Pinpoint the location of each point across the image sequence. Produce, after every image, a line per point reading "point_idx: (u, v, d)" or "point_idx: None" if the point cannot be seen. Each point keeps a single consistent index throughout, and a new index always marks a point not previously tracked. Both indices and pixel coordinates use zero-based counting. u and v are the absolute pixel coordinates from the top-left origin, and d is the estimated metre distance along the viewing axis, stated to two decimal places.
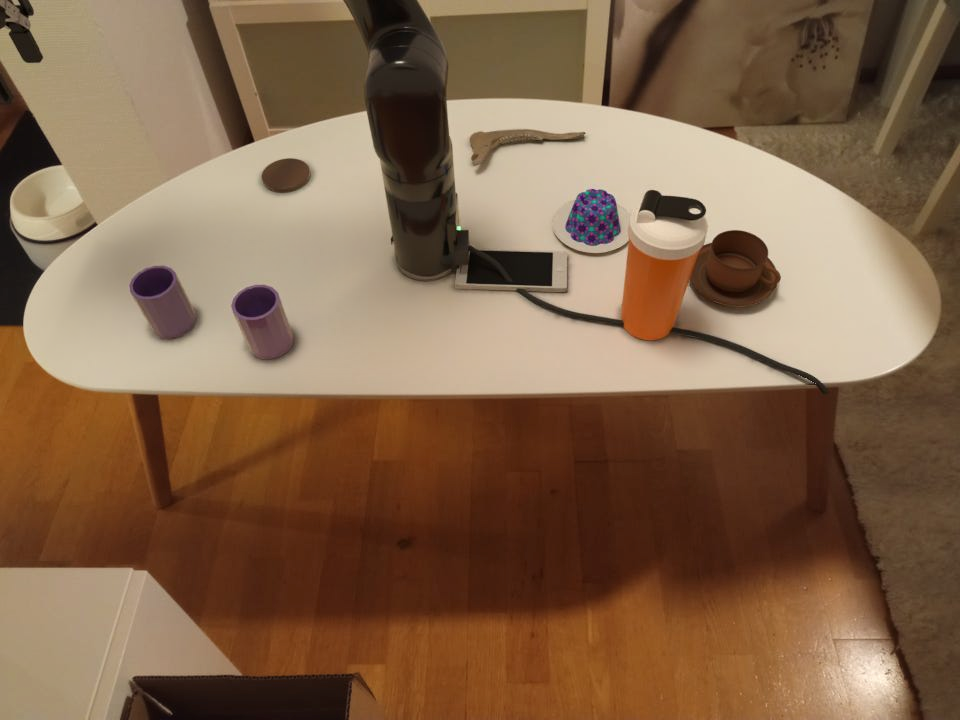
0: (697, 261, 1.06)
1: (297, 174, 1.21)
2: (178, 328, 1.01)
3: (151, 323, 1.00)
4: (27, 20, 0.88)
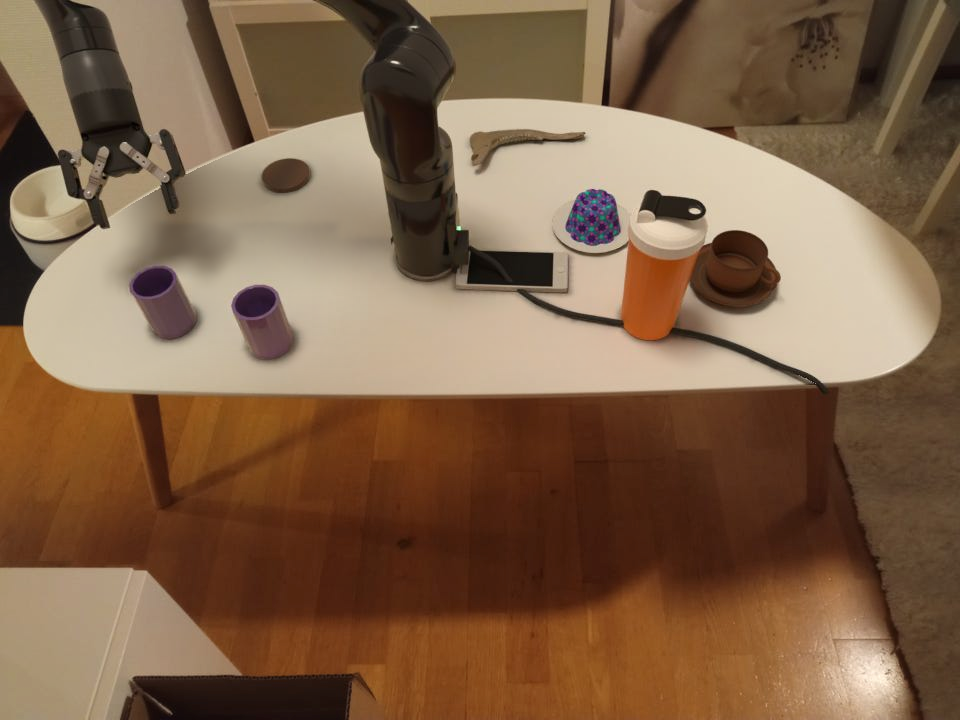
0: (697, 261, 1.06)
1: (297, 174, 1.21)
2: (178, 328, 1.01)
3: (151, 323, 1.00)
4: (165, 175, 0.98)
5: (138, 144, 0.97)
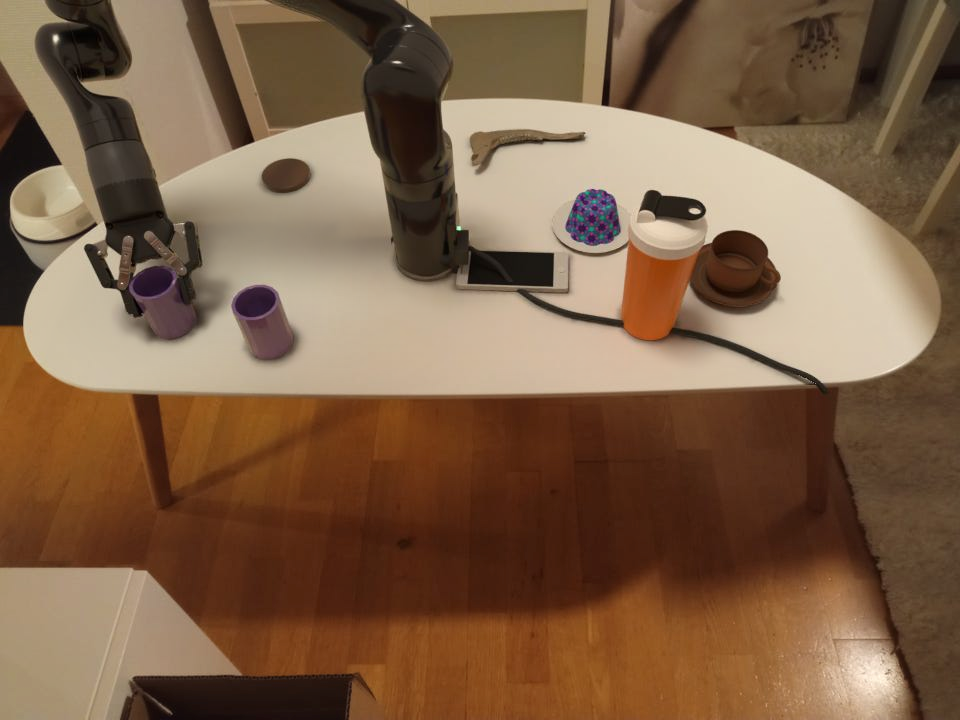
0: (697, 261, 1.06)
1: (297, 174, 1.21)
2: (178, 328, 1.01)
3: (151, 323, 1.00)
4: (183, 269, 0.98)
5: (161, 231, 0.97)
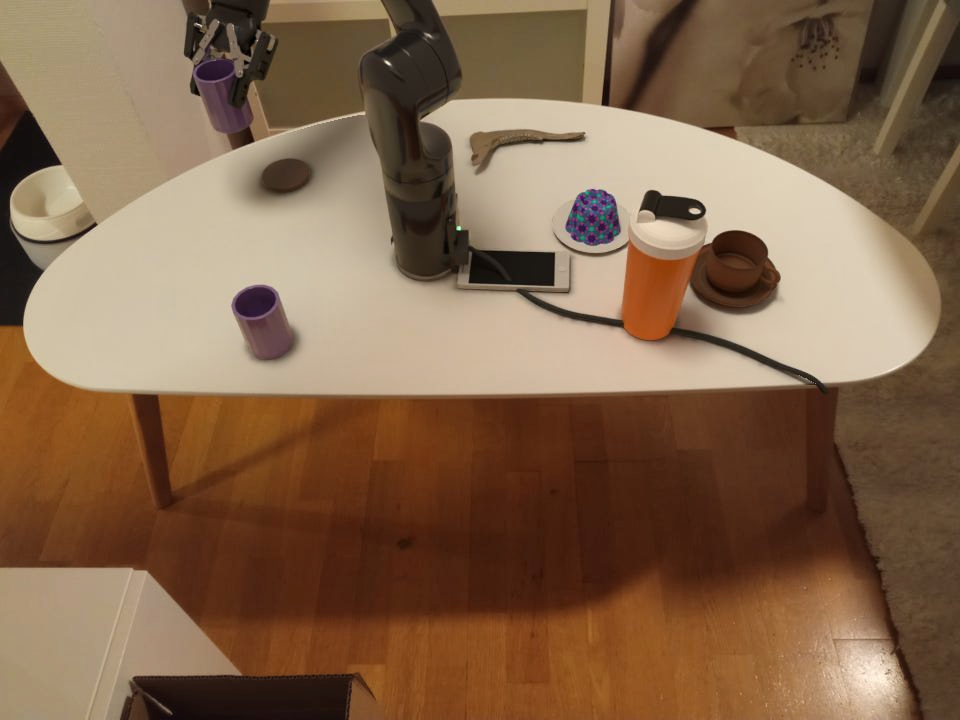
0: (697, 261, 1.06)
1: (297, 174, 1.21)
2: (221, 123, 1.06)
3: None
4: (240, 72, 1.01)
5: (243, 30, 1.01)
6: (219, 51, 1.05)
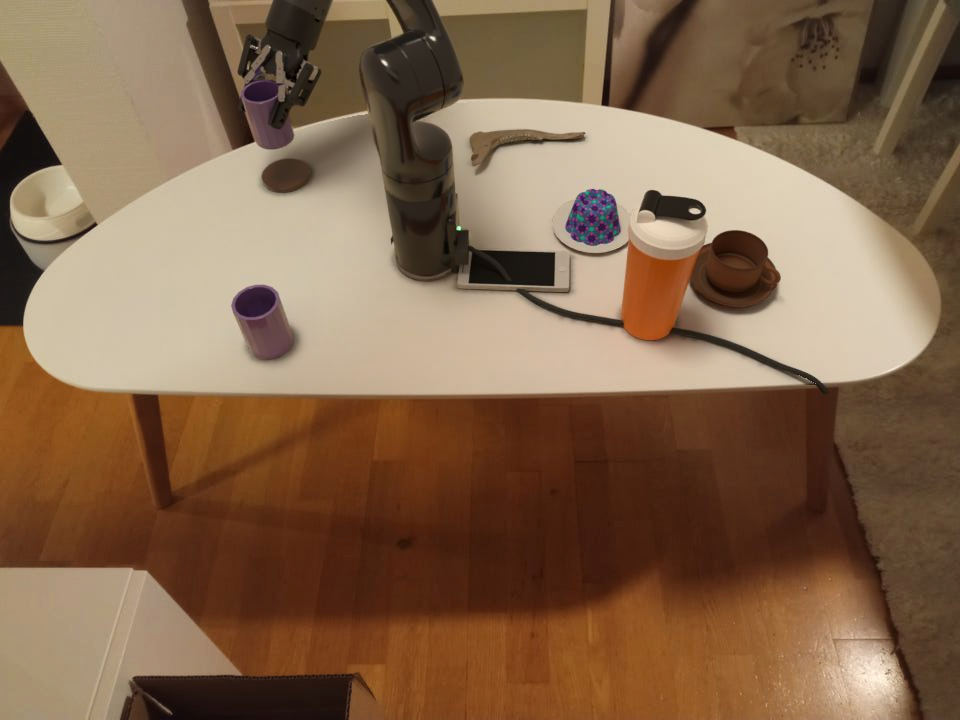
0: (697, 261, 1.06)
1: (297, 174, 1.21)
2: (261, 140, 1.13)
3: None
4: (282, 96, 1.08)
5: (290, 58, 1.07)
6: (269, 73, 1.12)
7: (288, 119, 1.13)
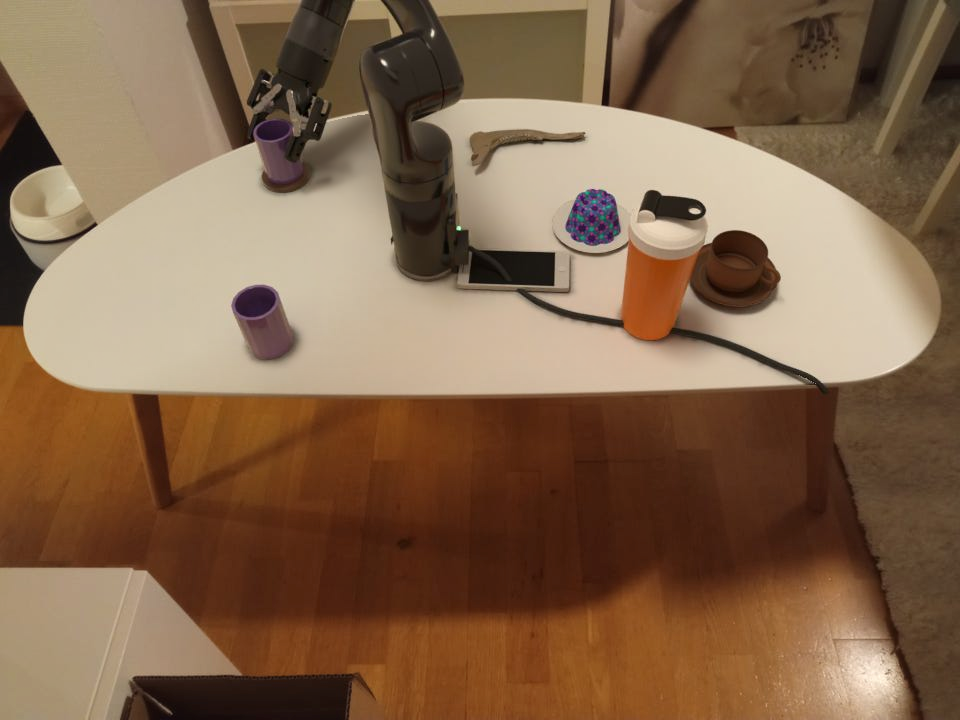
0: (697, 261, 1.06)
1: None
2: (272, 175, 1.18)
3: None
4: (298, 131, 1.12)
5: (300, 97, 1.12)
6: None
7: None
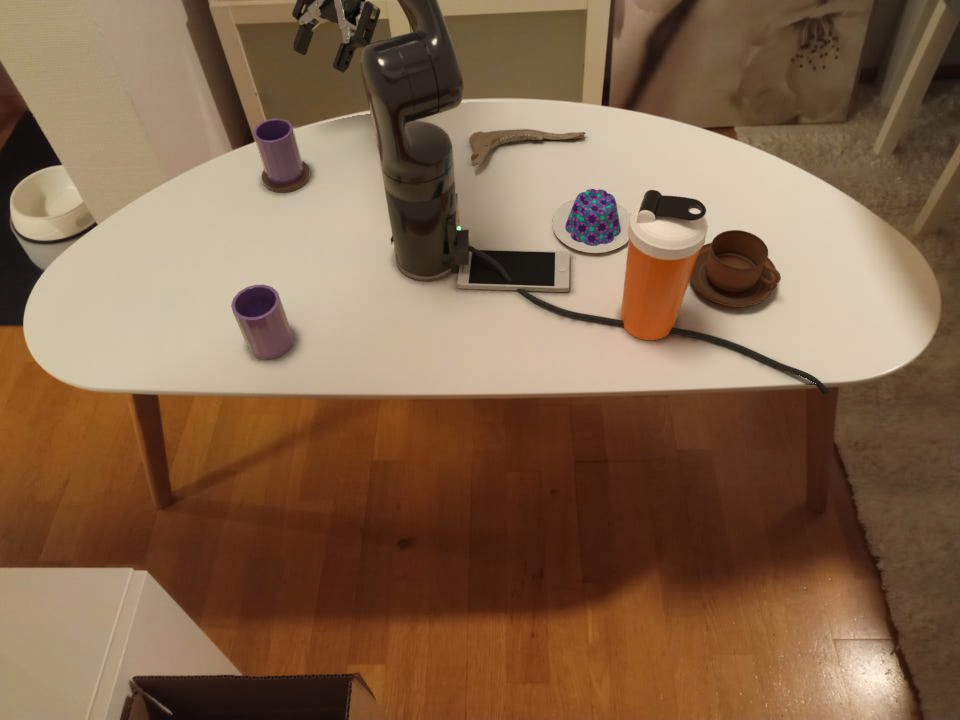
0: (697, 261, 1.06)
1: None
2: (272, 175, 1.18)
3: None
4: (347, 38, 1.11)
5: (349, 3, 1.11)
6: (324, 18, 1.16)
7: (298, 156, 1.18)
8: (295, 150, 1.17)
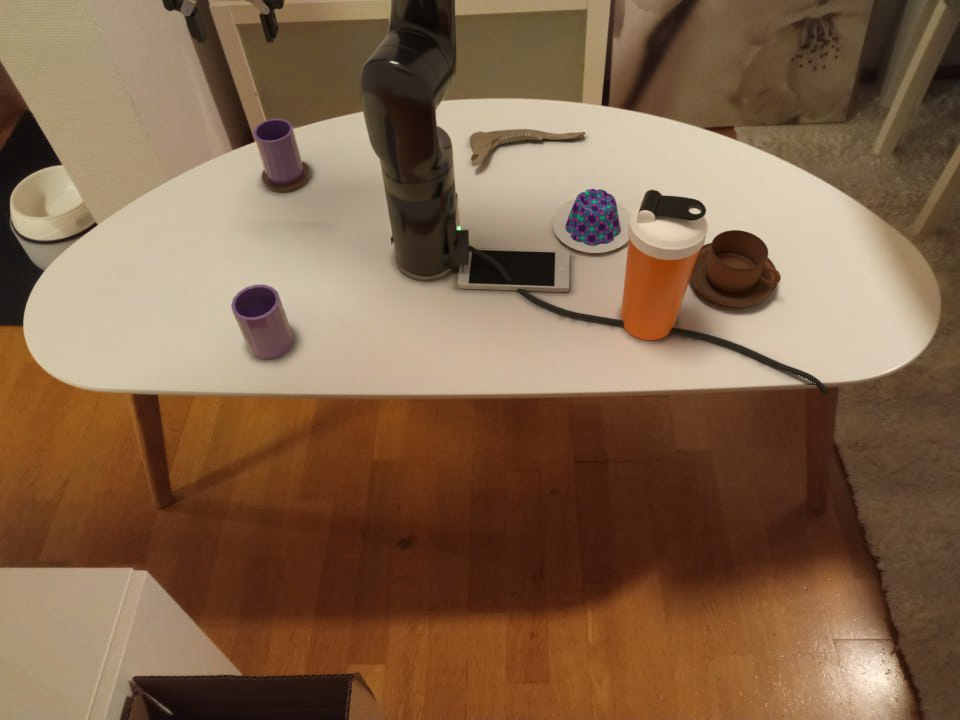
0: (697, 261, 1.06)
1: None
2: (272, 175, 1.18)
3: None
4: (265, 8, 0.90)
5: None
6: None
7: (298, 156, 1.18)
8: (295, 150, 1.17)
